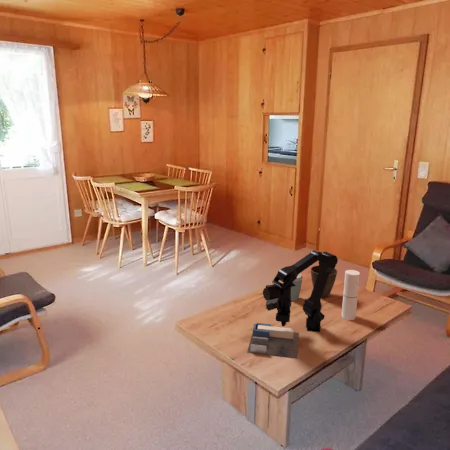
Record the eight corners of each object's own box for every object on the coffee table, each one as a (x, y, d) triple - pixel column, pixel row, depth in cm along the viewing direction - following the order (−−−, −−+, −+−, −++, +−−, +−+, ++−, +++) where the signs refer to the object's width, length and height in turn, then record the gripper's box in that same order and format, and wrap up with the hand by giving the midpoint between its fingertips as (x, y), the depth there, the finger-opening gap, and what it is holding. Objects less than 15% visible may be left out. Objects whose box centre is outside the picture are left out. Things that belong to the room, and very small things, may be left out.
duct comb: (298, 333, 199) (299, 326, 198) (297, 359, 178) (297, 351, 177) (253, 329, 203) (253, 321, 202) (246, 353, 183) (247, 345, 182)
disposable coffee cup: (301, 303, 231) (302, 278, 227) (282, 301, 233) (283, 277, 229) (301, 295, 241) (303, 271, 237) (283, 293, 243) (284, 270, 239)
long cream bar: (293, 335, 197) (293, 328, 196) (293, 339, 194) (293, 332, 193) (258, 331, 200) (258, 324, 199) (257, 335, 197) (257, 328, 196)
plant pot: (316, 287, 251) (318, 263, 247) (339, 294, 242) (341, 269, 238) (304, 296, 240) (306, 270, 236) (328, 303, 231) (330, 276, 227)
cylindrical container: (340, 318, 215) (343, 273, 208) (343, 312, 221) (346, 268, 214) (354, 321, 211) (358, 276, 205) (356, 315, 217) (361, 271, 211)
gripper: (269, 286, 201) (268, 315, 205) (265, 303, 183) (264, 334, 188) (292, 288, 199) (290, 317, 203) (290, 305, 181) (288, 337, 185)
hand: (283, 326), depth 195 cm, fingers closed
